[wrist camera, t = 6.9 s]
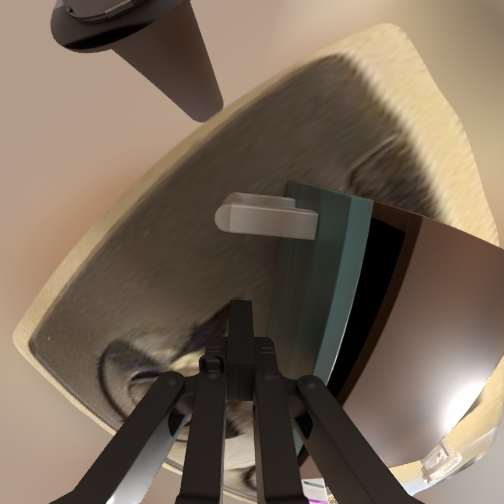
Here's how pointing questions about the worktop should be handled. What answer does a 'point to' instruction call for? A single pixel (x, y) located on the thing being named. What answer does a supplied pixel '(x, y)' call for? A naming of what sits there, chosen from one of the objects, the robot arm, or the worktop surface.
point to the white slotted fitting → (439, 461)
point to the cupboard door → (306, 269)
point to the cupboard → (417, 334)
